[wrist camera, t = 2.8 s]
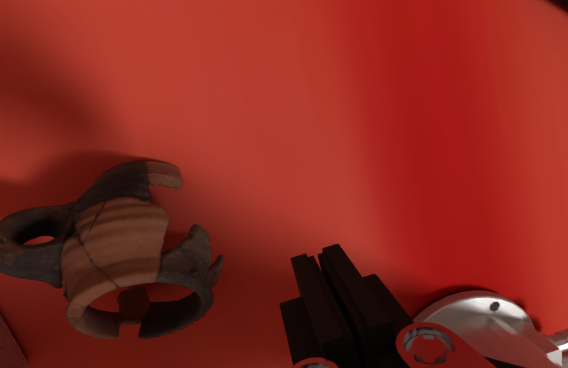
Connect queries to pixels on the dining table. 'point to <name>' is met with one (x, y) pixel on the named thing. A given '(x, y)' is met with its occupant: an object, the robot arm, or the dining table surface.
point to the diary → (564, 2)
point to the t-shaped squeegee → (10, 349)
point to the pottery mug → (114, 253)
